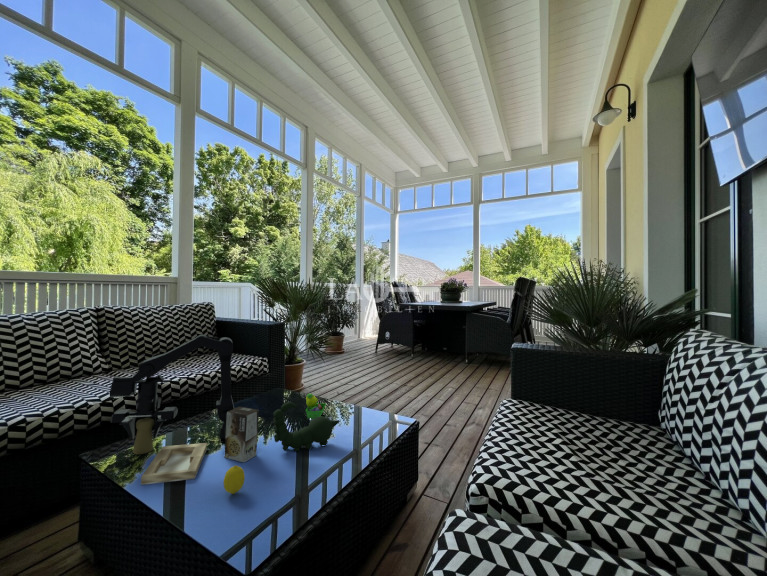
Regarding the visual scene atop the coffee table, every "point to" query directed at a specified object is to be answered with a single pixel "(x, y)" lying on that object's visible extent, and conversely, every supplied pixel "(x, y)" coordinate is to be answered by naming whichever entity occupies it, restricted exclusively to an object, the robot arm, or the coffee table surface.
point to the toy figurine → (302, 430)
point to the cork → (143, 436)
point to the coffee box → (241, 434)
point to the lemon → (234, 479)
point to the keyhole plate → (175, 463)
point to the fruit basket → (314, 407)
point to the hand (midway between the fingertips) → (143, 438)
